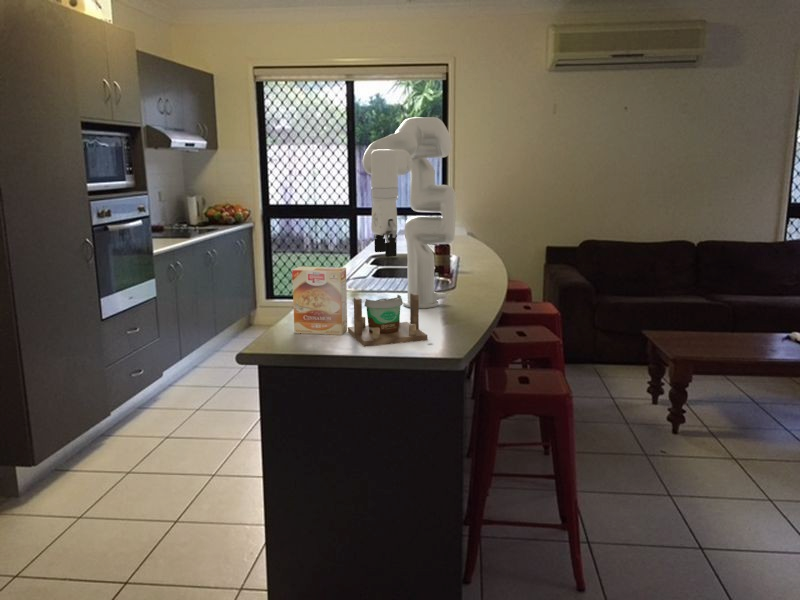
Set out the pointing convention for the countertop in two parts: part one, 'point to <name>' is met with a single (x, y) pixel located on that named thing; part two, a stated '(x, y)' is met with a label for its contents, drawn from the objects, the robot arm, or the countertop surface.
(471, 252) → the countertop surface
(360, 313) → the peg stand
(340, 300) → the coffeecake box
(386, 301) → the food container
